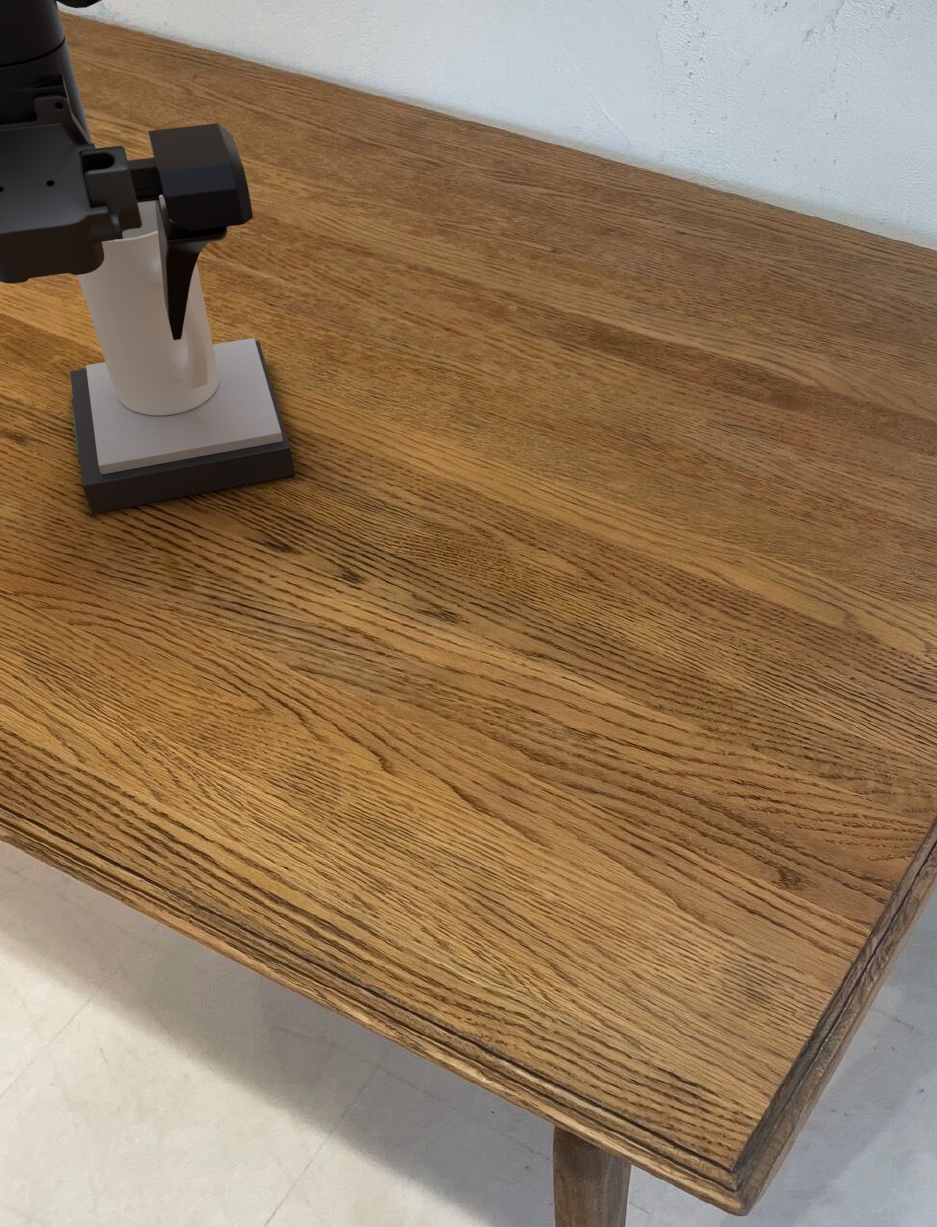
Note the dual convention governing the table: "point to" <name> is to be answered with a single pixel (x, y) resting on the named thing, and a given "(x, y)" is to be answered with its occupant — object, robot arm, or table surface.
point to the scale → (180, 436)
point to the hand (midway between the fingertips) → (84, 350)
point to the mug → (148, 326)
